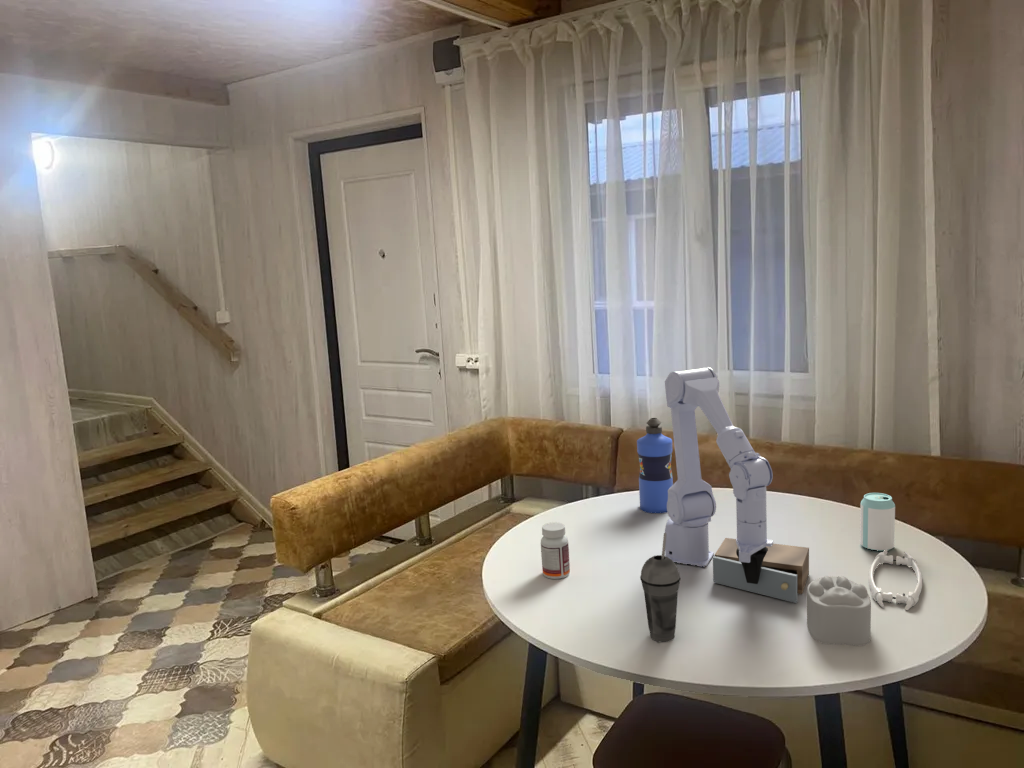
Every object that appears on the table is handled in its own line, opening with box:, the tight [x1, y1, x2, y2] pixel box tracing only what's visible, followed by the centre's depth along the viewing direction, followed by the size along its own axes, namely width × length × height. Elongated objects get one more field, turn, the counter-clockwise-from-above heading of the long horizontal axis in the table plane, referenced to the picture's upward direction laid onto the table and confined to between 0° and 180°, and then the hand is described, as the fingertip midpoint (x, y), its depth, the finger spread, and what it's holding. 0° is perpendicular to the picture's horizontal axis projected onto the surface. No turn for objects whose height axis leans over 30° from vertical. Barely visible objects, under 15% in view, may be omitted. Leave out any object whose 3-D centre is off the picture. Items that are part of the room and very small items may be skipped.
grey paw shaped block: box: [806, 575, 872, 647], centre depth 142 cm, size 10×13×9 cm
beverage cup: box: [639, 532, 681, 643], centre depth 142 cm, size 7×7×20 cm
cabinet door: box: [712, 555, 798, 604], centre depth 157 cm, size 18×2×6 cm, turn 49°
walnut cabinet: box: [714, 537, 810, 595], centre depth 164 cm, size 18×10×6 cm, turn 62°
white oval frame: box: [868, 550, 923, 611], centre depth 159 cm, size 3×10×25 cm
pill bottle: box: [540, 521, 571, 580], centre depth 172 cm, size 6×6×11 cm
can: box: [859, 492, 896, 552], centre depth 175 cm, size 7×7×12 cm
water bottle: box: [636, 417, 674, 514], centre depth 209 cm, size 9×9×25 cm
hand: (752, 582), depth 156 cm, fingers closed
